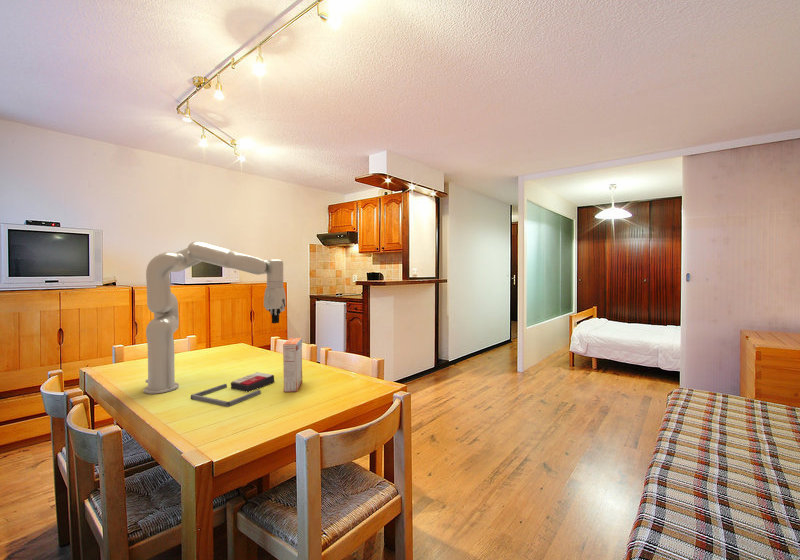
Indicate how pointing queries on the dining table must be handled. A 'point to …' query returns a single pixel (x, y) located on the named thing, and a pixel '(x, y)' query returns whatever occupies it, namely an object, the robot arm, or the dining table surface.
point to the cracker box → (292, 364)
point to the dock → (200, 397)
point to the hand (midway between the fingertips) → (275, 322)
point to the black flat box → (252, 381)
